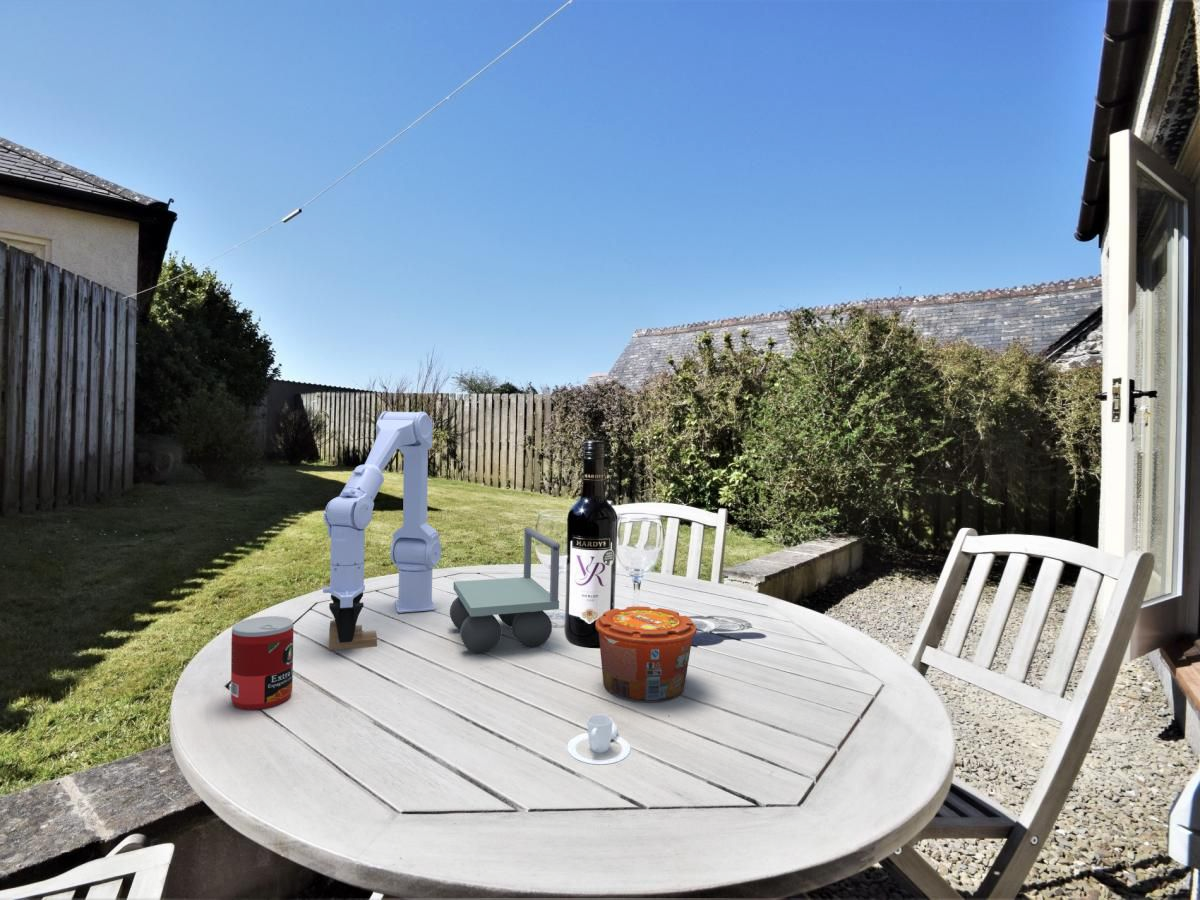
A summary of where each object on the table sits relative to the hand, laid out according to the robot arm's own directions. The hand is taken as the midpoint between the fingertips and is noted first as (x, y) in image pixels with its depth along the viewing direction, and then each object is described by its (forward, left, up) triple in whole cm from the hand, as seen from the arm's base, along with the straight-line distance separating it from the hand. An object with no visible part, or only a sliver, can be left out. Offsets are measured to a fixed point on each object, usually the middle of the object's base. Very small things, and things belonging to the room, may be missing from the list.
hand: (346, 636), depth 113 cm
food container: (+34, +44, -2) cm, 56 cm away
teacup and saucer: (+50, +33, -2) cm, 60 cm away
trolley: (+4, +27, -1) cm, 27 cm away
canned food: (+21, -11, -2) cm, 24 cm away
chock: (0, +1, -1) cm, 2 cm away
